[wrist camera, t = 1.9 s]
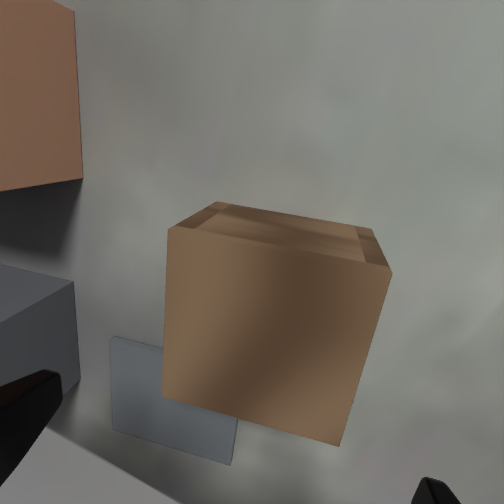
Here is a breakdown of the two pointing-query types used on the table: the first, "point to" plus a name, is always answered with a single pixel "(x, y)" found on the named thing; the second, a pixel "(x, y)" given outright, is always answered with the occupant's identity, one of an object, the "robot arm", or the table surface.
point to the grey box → (37, 326)
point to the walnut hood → (271, 316)
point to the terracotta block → (38, 95)
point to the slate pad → (162, 406)
